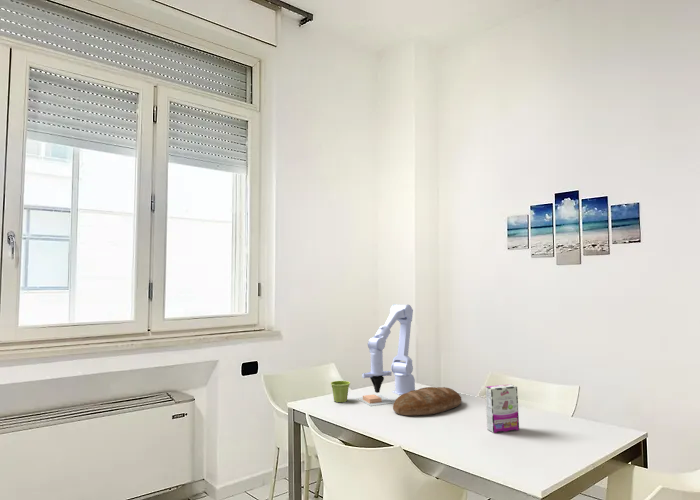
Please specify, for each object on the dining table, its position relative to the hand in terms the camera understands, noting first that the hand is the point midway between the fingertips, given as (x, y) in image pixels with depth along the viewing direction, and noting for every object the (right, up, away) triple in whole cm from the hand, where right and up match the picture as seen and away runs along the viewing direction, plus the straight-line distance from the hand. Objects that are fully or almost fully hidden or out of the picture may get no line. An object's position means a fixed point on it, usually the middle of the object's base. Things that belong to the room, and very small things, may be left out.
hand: (377, 392), depth 239 cm
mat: (-1, -4, -1) cm, 4 cm away
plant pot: (-17, -5, 0) cm, 18 cm away
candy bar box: (+45, -1, -48) cm, 65 cm away
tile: (0, -3, 0) cm, 3 cm away
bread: (+22, -4, -13) cm, 26 cm away
